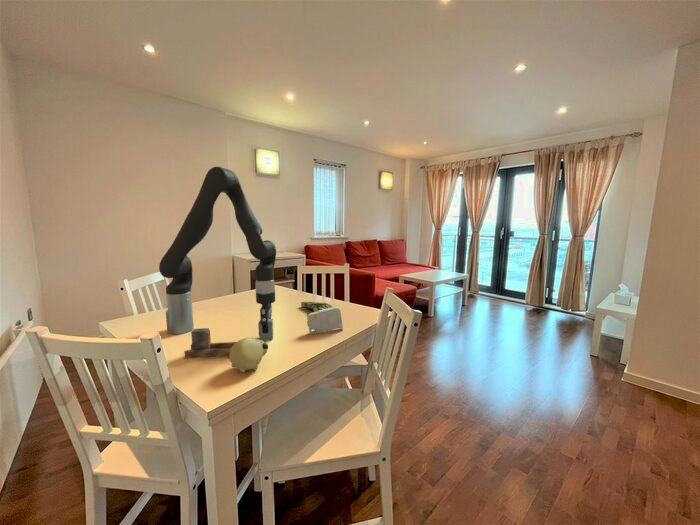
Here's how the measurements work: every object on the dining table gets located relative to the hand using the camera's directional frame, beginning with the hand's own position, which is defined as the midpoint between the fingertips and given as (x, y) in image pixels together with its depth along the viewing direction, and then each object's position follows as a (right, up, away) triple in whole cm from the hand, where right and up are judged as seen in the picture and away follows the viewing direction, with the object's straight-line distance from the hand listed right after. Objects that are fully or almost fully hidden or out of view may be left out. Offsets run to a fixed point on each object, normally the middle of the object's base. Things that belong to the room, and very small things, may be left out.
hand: (267, 329), depth 120 cm
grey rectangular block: (0, -4, +1) cm, 4 cm away
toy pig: (+1, -8, -23) cm, 24 cm away
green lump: (+17, +1, +37) cm, 41 cm away
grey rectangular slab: (+23, -4, +9) cm, 25 cm away
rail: (-15, -6, -12) cm, 20 cm away
